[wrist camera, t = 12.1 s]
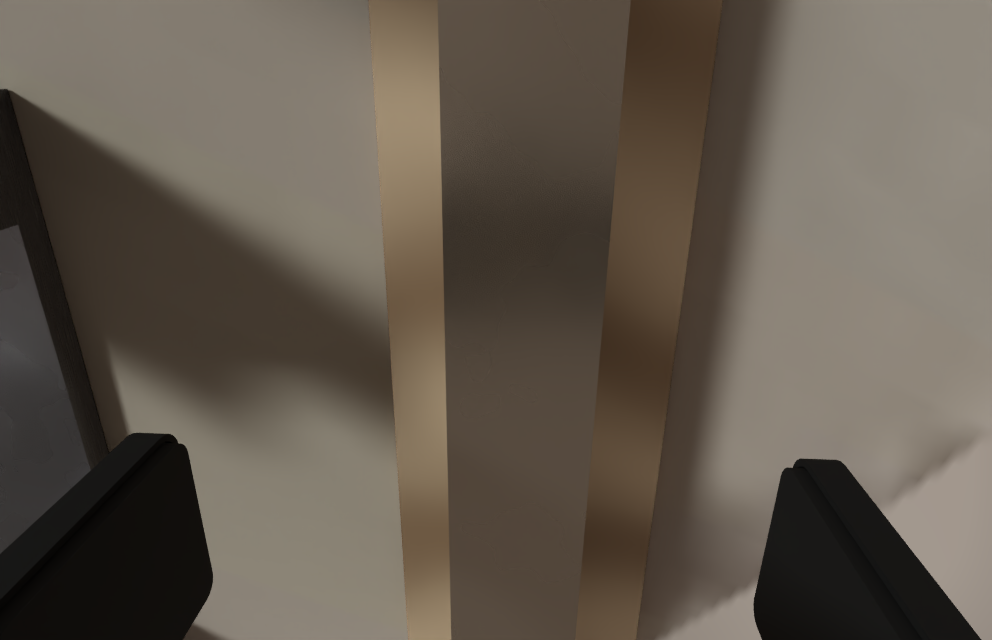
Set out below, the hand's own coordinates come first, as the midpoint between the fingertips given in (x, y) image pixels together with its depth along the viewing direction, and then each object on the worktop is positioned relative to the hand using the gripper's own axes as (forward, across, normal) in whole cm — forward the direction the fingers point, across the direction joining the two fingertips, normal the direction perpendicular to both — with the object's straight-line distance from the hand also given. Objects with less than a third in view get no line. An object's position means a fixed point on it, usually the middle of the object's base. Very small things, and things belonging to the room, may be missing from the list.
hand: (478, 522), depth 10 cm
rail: (+6, -1, 0) cm, 6 cm away
